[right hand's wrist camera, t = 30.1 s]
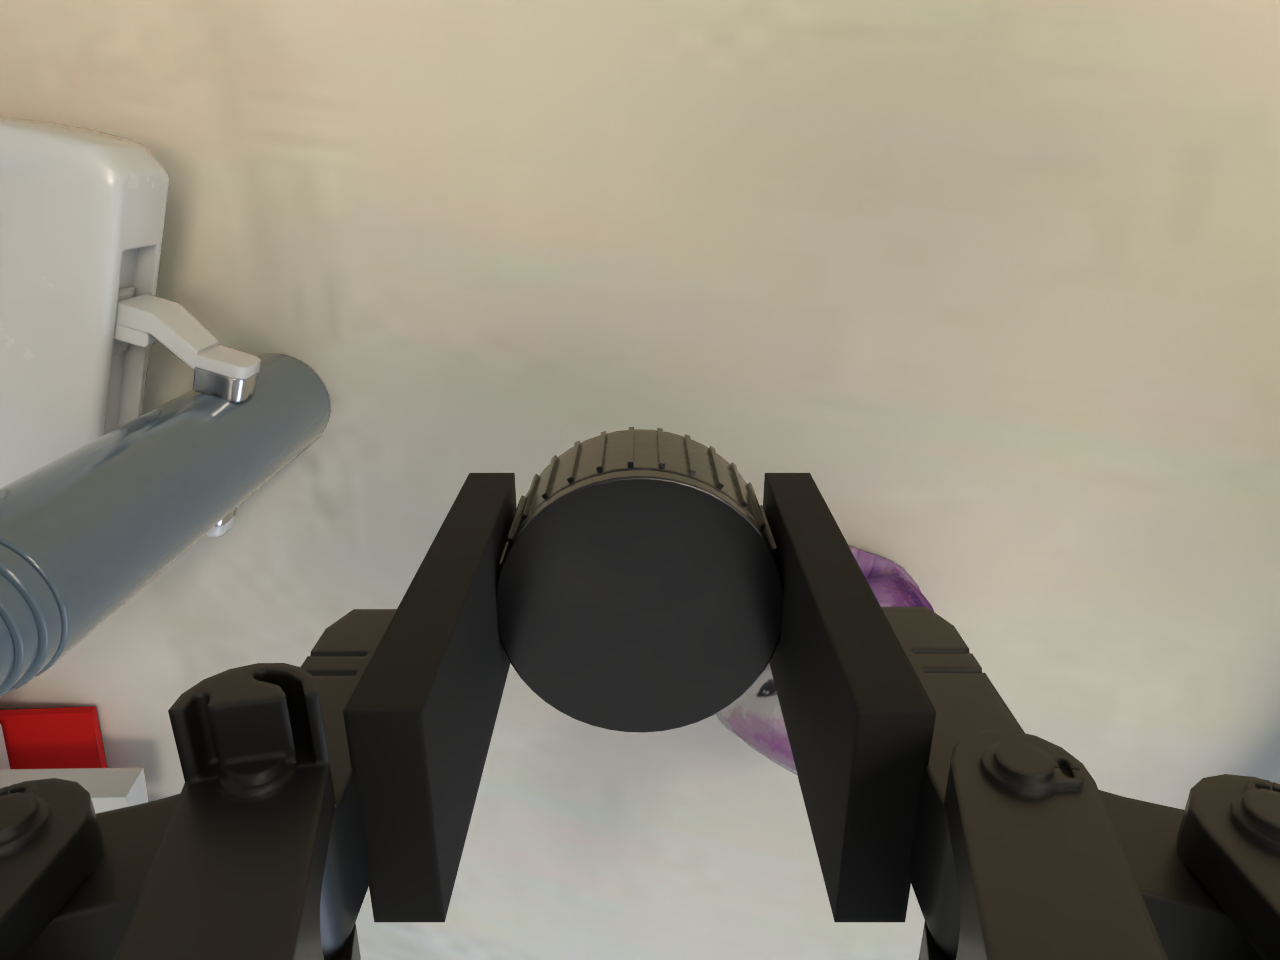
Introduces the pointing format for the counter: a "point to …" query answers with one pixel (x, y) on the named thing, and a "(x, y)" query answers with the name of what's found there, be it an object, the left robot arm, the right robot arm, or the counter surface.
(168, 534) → the bottle
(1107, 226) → the counter surface
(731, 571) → the cap
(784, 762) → the figurine
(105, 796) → the toy
